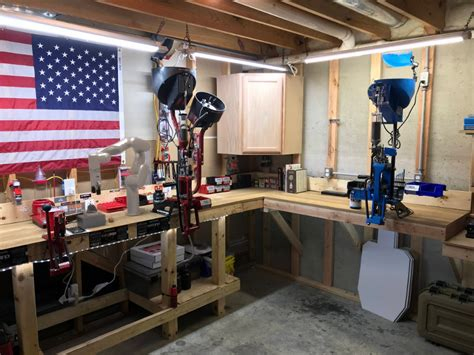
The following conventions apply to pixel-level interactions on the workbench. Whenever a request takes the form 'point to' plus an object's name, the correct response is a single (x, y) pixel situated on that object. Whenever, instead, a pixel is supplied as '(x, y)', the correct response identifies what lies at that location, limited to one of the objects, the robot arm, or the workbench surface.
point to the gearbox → (91, 220)
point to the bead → (111, 219)
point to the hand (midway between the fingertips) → (96, 193)
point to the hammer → (74, 216)
